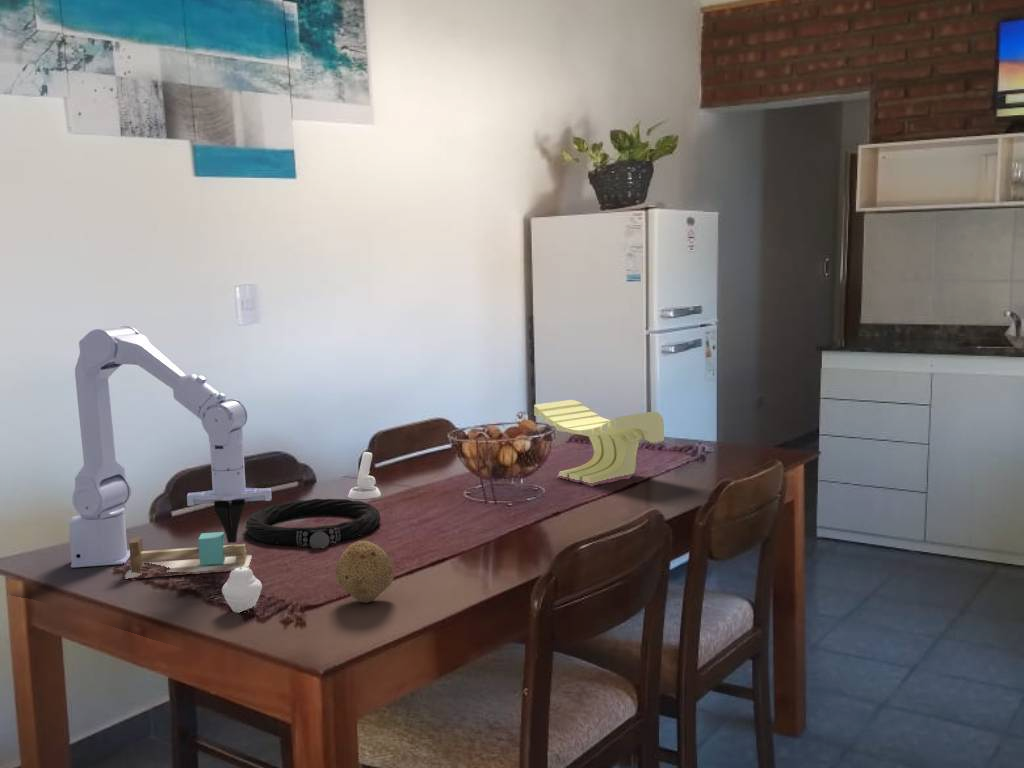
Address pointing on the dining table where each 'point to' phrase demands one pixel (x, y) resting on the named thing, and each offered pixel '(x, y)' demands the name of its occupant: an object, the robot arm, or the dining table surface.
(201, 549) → the slider
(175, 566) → the rail
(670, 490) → the dining table surface
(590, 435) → the slatted curved stool
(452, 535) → the dining table surface
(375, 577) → the natural sponge
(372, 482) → the white joystick
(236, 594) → the white faceted lump
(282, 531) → the cable lock
